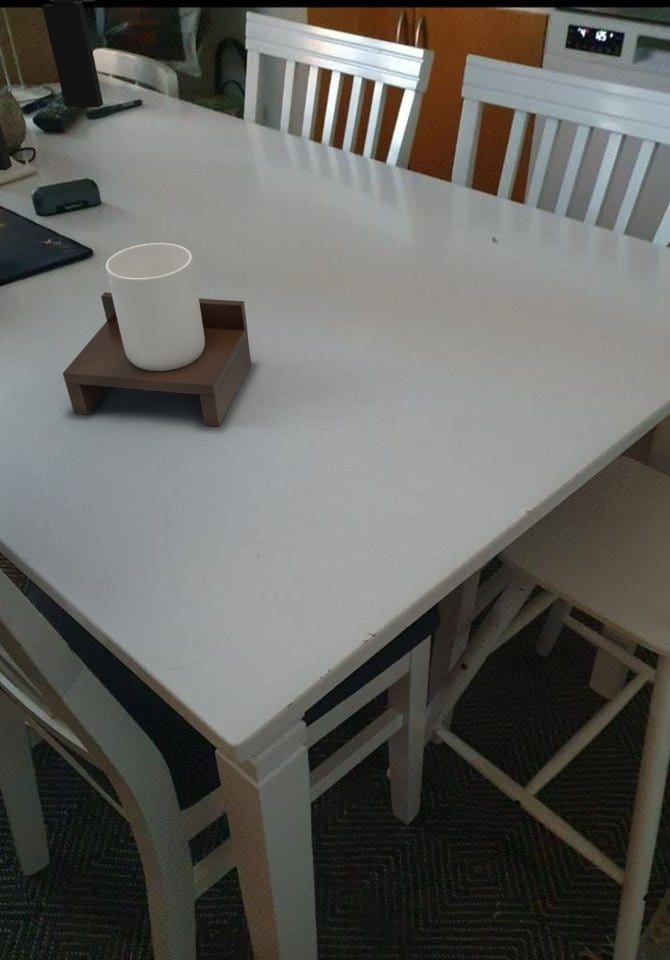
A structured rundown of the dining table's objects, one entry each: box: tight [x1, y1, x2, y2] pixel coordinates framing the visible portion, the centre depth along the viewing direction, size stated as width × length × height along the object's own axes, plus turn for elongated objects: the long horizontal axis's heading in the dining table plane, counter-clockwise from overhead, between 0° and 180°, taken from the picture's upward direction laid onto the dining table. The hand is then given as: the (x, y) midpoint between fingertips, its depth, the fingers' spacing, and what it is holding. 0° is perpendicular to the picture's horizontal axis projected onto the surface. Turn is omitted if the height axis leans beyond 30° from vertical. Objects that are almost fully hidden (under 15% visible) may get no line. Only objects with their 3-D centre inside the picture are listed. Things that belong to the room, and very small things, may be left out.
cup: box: [105, 242, 205, 371], centre depth 82 cm, size 8×12×10 cm
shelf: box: [62, 292, 252, 428], centre depth 86 cm, size 16×12×8 cm
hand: (41, 134), depth 55 cm, fingers open, 13 cm apart
